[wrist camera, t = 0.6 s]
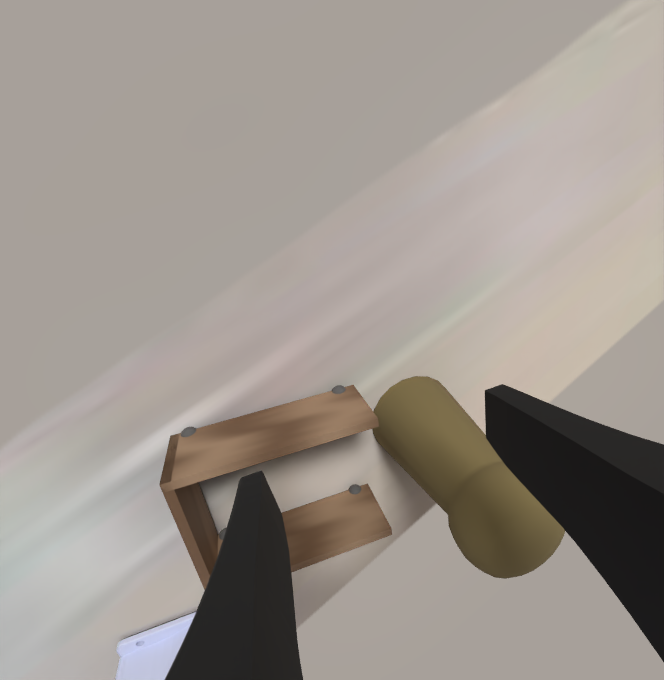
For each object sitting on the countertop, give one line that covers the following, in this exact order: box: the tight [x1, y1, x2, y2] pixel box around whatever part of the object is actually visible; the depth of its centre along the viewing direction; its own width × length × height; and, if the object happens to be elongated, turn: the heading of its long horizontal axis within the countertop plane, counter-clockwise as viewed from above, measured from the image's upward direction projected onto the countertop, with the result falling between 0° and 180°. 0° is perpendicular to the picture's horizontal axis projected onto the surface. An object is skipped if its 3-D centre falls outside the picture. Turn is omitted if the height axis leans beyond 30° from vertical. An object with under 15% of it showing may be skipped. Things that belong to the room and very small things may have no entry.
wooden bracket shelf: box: [160, 385, 392, 589], centre depth 22 cm, size 11×9×4 cm
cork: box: [372, 376, 565, 578], centre depth 20 cm, size 6×6×11 cm
